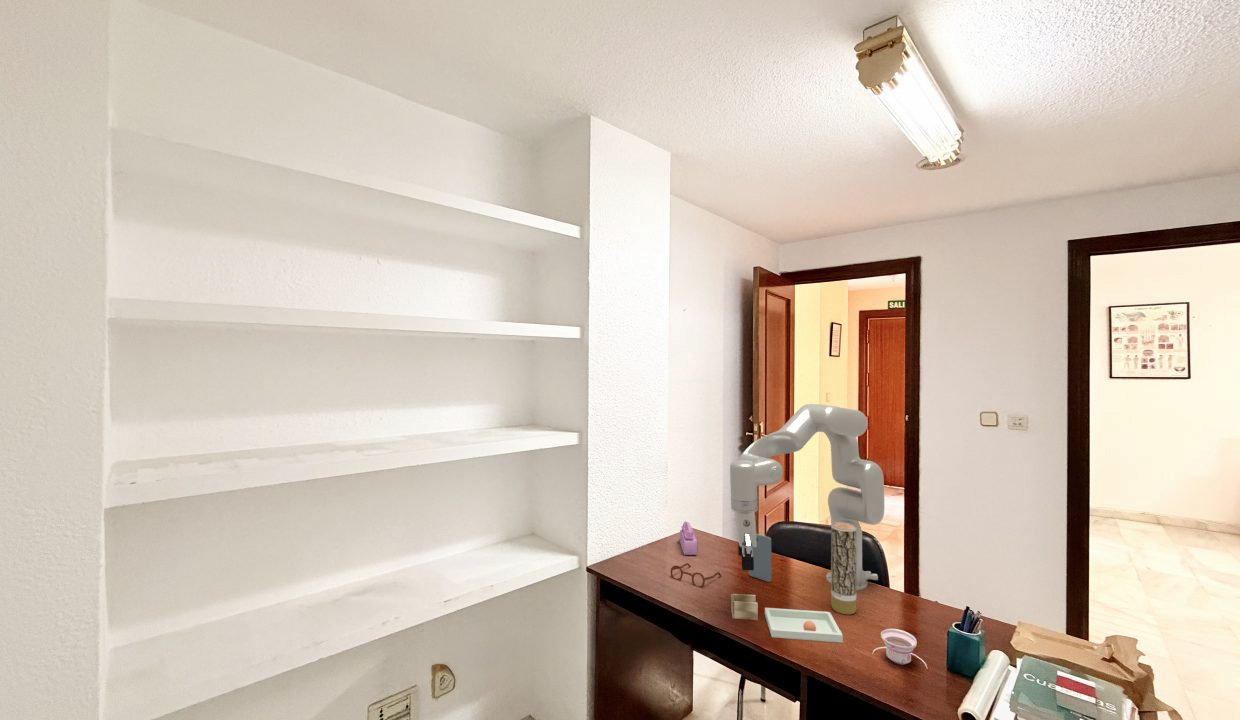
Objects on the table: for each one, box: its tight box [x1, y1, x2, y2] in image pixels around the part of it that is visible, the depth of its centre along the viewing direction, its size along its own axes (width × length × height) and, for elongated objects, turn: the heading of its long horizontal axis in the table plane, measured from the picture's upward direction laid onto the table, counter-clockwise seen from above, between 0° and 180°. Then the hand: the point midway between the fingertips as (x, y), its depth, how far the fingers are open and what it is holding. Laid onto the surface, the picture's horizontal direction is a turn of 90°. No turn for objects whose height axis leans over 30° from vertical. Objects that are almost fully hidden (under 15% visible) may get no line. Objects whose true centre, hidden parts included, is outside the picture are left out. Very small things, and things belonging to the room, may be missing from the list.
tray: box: [764, 607, 844, 644], centre depth 136 cm, size 18×12×2 cm, turn 82°
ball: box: [803, 621, 816, 631], centre depth 133 cm, size 3×3×3 cm
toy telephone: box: [677, 520, 699, 556], centre depth 196 cm, size 18×6×10 cm, turn 0°
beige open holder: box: [730, 593, 759, 621], centre depth 143 cm, size 7×5×5 cm
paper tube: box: [830, 522, 857, 616], centre depth 147 cm, size 7×7×25 cm
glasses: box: [669, 562, 723, 589], centre depth 169 cm, size 13×13×5 cm
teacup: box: [872, 628, 928, 668], centre depth 122 cm, size 12×12×6 cm
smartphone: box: [747, 533, 772, 583], centre depth 168 cm, size 8×1×15 cm, turn 47°
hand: (745, 562), depth 144 cm, fingers open, 9 cm apart
